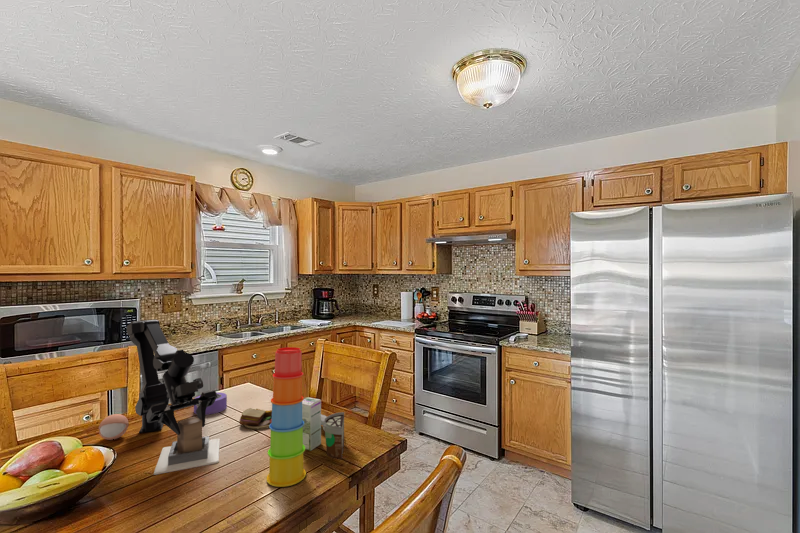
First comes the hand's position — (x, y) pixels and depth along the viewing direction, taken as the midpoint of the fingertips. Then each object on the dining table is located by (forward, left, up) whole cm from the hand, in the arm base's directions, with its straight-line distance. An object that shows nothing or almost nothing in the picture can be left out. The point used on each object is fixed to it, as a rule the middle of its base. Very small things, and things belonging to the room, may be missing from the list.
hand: (191, 430), depth 114 cm
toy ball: (-24, -25, -8) cm, 36 cm away
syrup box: (+7, +33, -8) cm, 35 cm away
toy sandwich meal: (-18, +20, -9) cm, 28 cm away
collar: (-1, -1, -8) cm, 8 cm away
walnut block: (-1, -1, -8) cm, 8 cm away
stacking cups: (+23, +24, -8) cm, 34 cm away
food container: (+14, +39, -8) cm, 43 cm away
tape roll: (-40, +3, -8) cm, 41 cm away
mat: (-1, -1, -8) cm, 8 cm away
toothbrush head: (-6, +39, -9) cm, 40 cm away
